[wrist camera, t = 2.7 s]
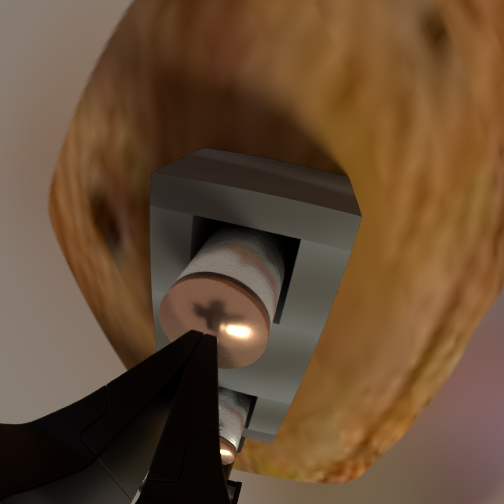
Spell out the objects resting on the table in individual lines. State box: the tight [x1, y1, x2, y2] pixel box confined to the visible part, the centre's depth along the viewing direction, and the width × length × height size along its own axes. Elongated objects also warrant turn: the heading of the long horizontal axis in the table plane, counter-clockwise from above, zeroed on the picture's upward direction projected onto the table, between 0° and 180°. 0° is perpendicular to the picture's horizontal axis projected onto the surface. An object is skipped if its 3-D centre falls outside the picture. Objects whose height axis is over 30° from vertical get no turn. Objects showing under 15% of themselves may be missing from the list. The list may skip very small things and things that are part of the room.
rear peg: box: [219, 386, 253, 465], centre depth 17 cm, size 4×4×6 cm
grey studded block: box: [150, 148, 362, 443], centre depth 17 cm, size 17×8×6 cm, turn 172°
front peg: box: [159, 222, 289, 369], centre depth 12 cm, size 4×4×6 cm
